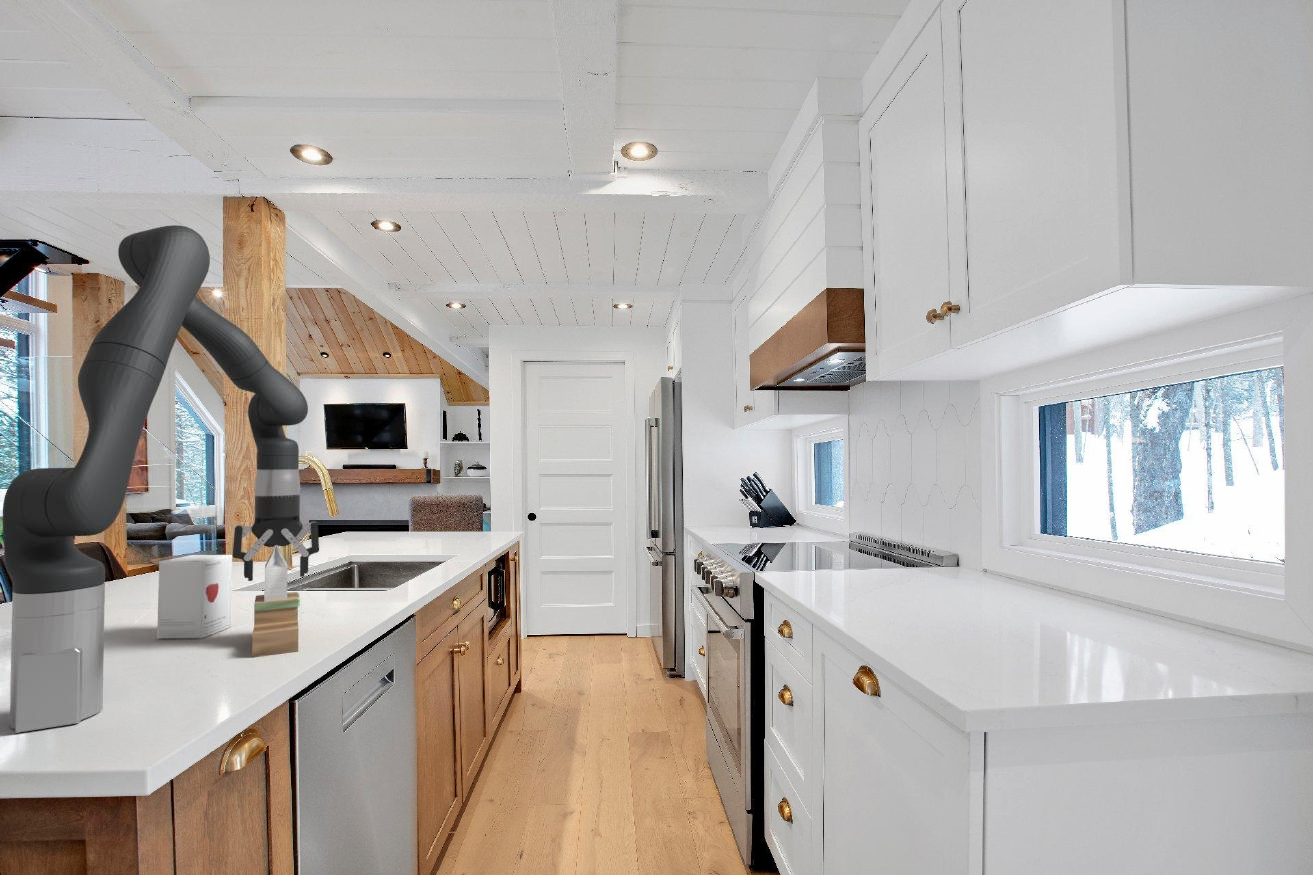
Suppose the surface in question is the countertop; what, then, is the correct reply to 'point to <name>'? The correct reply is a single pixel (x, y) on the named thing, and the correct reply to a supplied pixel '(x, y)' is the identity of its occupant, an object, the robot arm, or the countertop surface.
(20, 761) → the countertop surface
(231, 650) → the countertop surface
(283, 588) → the white milk carton
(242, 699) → the countertop surface
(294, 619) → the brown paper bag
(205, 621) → the supplement box
